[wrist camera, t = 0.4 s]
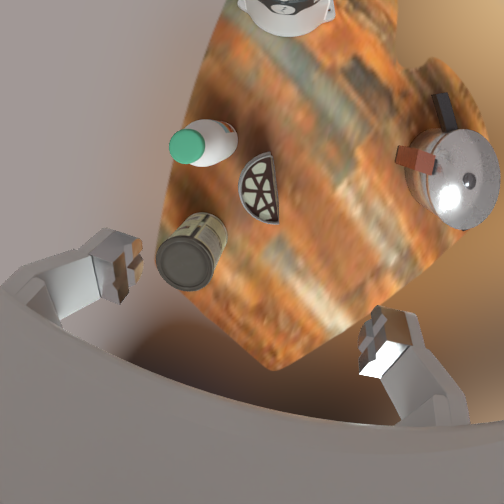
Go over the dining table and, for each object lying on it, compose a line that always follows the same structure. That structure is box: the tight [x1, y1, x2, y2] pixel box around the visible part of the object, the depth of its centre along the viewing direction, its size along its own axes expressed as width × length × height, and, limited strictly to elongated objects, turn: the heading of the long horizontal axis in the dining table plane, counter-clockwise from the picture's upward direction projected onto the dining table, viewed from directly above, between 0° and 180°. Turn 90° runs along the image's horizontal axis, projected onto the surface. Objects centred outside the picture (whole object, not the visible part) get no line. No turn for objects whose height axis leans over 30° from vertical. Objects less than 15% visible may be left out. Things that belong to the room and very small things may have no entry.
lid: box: [395, 129, 500, 230], centre depth 35 cm, size 25×19×8 cm
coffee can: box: [156, 212, 227, 291], centre depth 53 cm, size 10×10×14 cm
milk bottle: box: [169, 119, 238, 167], centre depth 42 cm, size 8×8×20 cm
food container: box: [238, 151, 279, 224], centre depth 49 cm, size 12×6×10 cm, turn 8°
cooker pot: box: [405, 93, 467, 231], centre depth 42 cm, size 27×18×10 cm
